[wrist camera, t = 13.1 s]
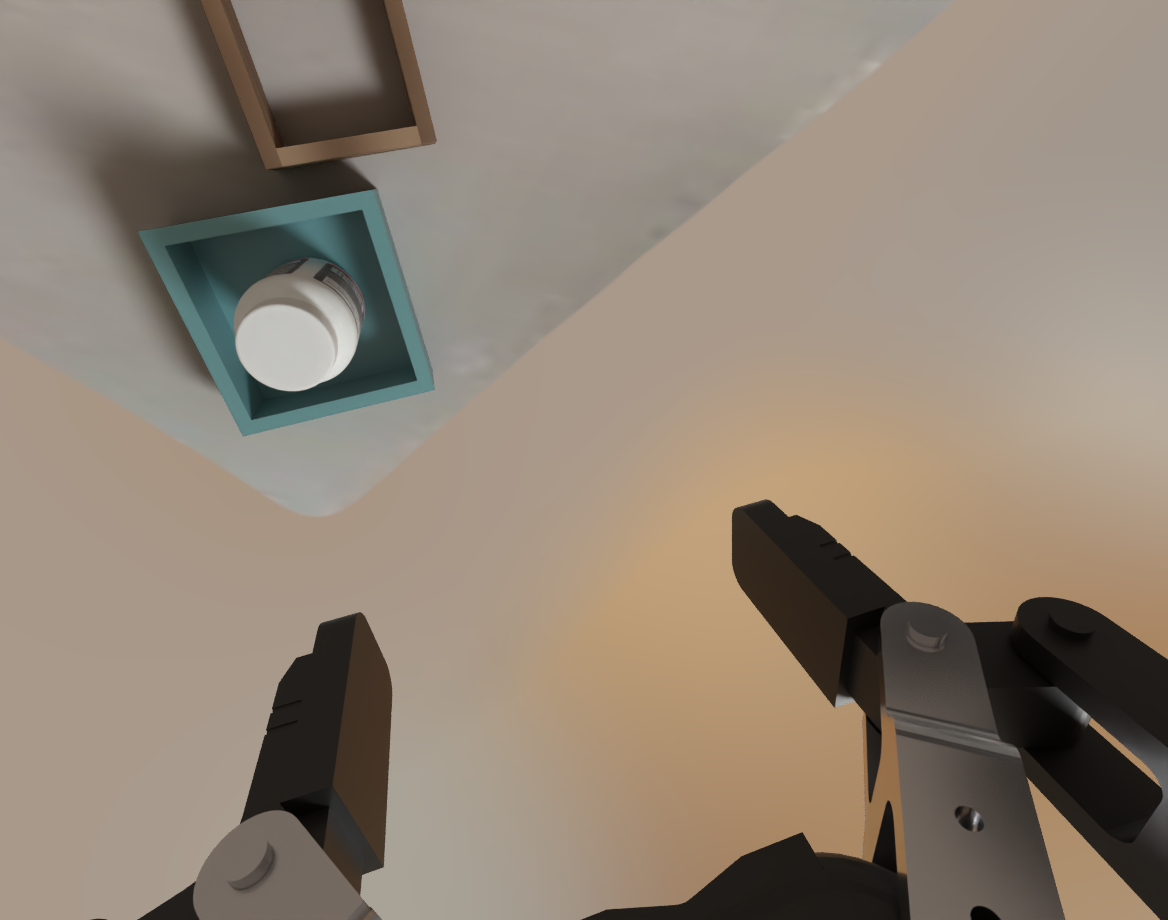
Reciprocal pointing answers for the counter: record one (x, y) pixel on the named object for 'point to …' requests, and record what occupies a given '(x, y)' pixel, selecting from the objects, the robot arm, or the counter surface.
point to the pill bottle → (299, 324)
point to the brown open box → (329, 150)
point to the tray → (252, 251)
